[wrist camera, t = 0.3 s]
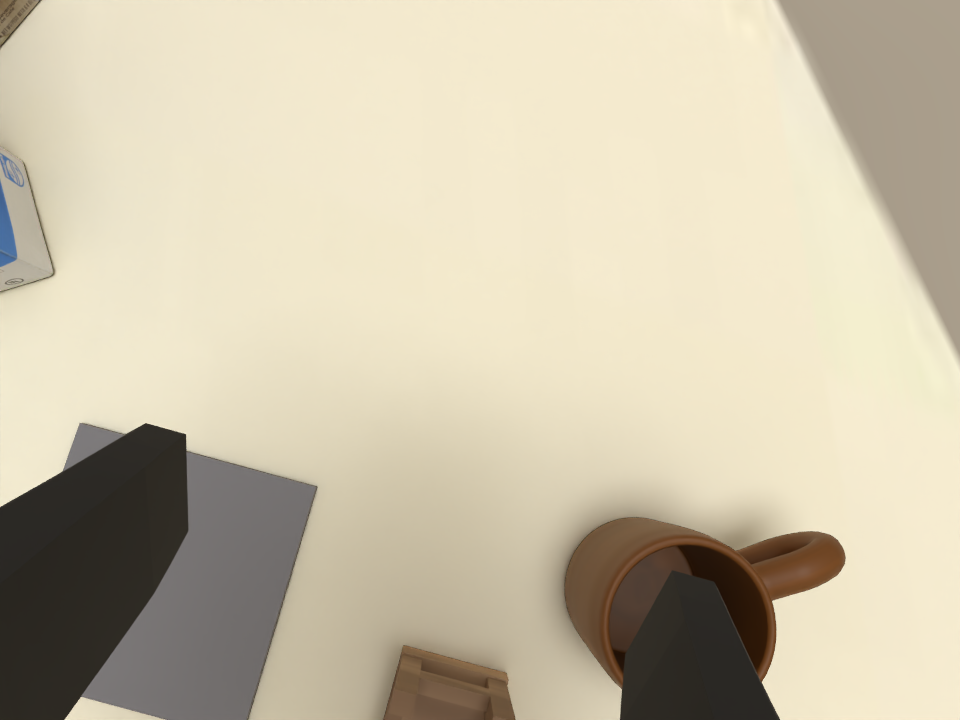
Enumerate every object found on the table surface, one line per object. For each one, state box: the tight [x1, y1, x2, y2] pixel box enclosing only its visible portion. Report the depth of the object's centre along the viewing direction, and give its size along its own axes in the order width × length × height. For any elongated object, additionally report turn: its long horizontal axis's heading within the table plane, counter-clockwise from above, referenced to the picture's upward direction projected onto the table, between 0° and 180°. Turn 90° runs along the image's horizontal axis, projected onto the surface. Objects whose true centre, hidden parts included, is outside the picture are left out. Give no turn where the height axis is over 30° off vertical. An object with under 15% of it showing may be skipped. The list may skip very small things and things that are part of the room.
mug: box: [565, 518, 846, 689], centre depth 34 cm, size 12×8×9 cm, turn 111°
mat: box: [63, 423, 317, 720], centre depth 37 cm, size 13×13×1 cm
